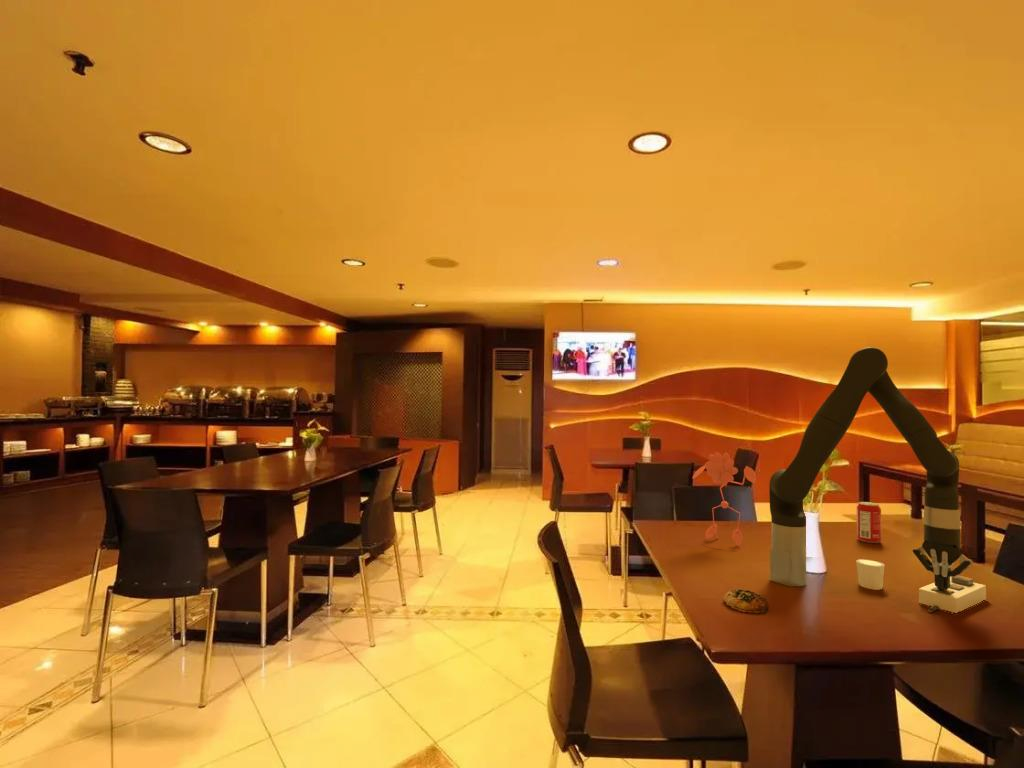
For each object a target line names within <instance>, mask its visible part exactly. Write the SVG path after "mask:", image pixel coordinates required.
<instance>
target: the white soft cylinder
mask: <svg viewBox="0 0 1024 768" xmlns="http://www.w3.org/2000/svg"><path fill="white" fill-rule="evenodd" d="M855 562H856V570H857V571H856V572H857V577H858V580H857V581H858V585H859V586H860V587H863V588H865V589H870V590H875V591H878V590H880V589H881V590H882V589H883V585H884V578H885V576H884V575H885V567H886V566H885V564H884V563H883V562H881V561H877V560H873V559H866V558H863V559H862V558H860V559H857V560H856V561H855Z"/></svg>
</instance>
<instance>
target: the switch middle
mask: <svg viewBox="0 0 1024 768" xmlns="http://www.w3.org/2000/svg"><path fill="white" fill-rule="evenodd" d="M950 589H954V590H958V591H960V590H963V589H964V587H962V586H958V585H954V584H950Z"/></svg>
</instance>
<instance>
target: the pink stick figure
mask: <svg viewBox="0 0 1024 768" xmlns="http://www.w3.org/2000/svg"><path fill="white" fill-rule="evenodd" d="M708 459H709V461H706V462H705V464H704V465H702V466H700V467H699V468H698V469H697V470H696V471H695V473H694V474H693V476H692V477H691V478H692V480H695V478H697V477H699V476H700V475H701V474H702V473H703V472H704V471H705V470H706V475H707V476H710V477H711V480H712V482H713V483H715V484H722V485H721V486H720V487H719V490H720V494H721V498H722V501H721V503H720V504H719V505H717V506H715V507H712V523H713V524H711V525H710V526H709V527H708V528H707V530H706V532H705V535H704V536H705V539H707V540H710V539H711V538H713V537H714V536H716V539H717V538H718V539H719V536H718V532H717V531H718V525H717V524H716V523H715V517H714V513H715V511H714V509H716V508H719V507H721V508H723V509H728V508H729V509H731V511H734V512H736V513H738V514H739V515H738V521H737V527H736V528H735V529H734V530H733V531H732V536H731V538H732V541H733V542H734V543H735V545H736V546H737V547H738V546H739V547H740V546H741V545H742V543H743V541H744V536H743V533H742V531H741V530H740V529H739V526H740V522H741V515H742V514H741V512H739V511H737V510H736V509H734V508H733V507H730V506H729V502H727V501H725V498H724V494H723V491H722V488H723V487H724V486H726V485H728V483H732V484H736V485H741V486H744V484H745V480H747V481H749V482H751V483H752V484H755V483H756V479H757V474H756V472H755V470H754V469H753V468H752V467H749V466H748V465H746V466H745V468H744V469H743V480H742V482H738V481H734V480H735V479H734V478H735V477H734V476H735V475H736V474H738V473H739V469H738V467H736V466H734V465H735V460H733V459H731V456H730V454H729V453H728V452H724V453H723V455H722V454H721V453H719V451H718V452H717V451H716V452H714V454H712V453H710V454H708Z"/></svg>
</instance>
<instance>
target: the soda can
mask: <svg viewBox="0 0 1024 768" xmlns="http://www.w3.org/2000/svg"><path fill="white" fill-rule="evenodd" d="M879 505H880V504H879V503H875V502H871V501H870V502H869V501H860V502H858V505H856V539H858V540H859V541H860V542H862V541H863V542H862V543H865V542H867V544H872V543H876V544H879V543H881V542H882V509H881V507H880V506H879Z"/></svg>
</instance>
